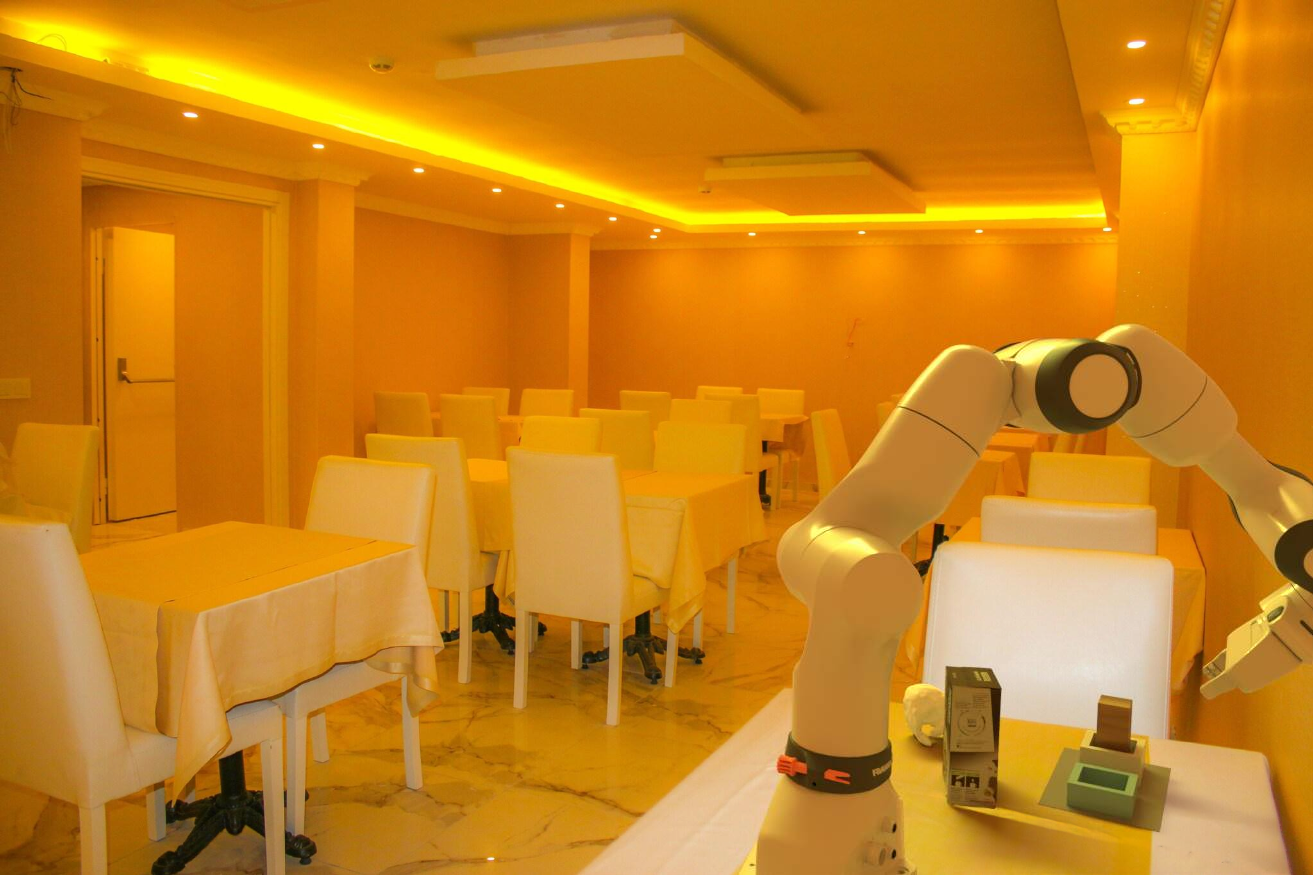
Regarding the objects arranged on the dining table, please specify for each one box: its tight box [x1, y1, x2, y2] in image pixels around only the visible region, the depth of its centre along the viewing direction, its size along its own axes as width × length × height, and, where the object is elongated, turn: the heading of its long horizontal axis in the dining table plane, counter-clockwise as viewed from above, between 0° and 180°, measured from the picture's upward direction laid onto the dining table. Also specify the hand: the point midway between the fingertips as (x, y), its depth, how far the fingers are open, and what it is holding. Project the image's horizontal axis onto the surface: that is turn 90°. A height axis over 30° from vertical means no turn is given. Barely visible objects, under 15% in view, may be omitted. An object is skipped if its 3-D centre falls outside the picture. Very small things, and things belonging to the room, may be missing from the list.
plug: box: [1096, 694, 1133, 754], centre depth 137 cm, size 4×4×10 cm
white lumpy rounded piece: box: [902, 683, 945, 747], centre depth 150 cm, size 6×8×12 cm
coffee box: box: [941, 665, 1003, 810], centre depth 131 cm, size 9×6×16 cm
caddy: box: [1037, 728, 1171, 833], centre depth 132 cm, size 22×14×5 cm, turn 149°
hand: (1204, 684), depth 130 cm, fingers open, 8 cm apart
